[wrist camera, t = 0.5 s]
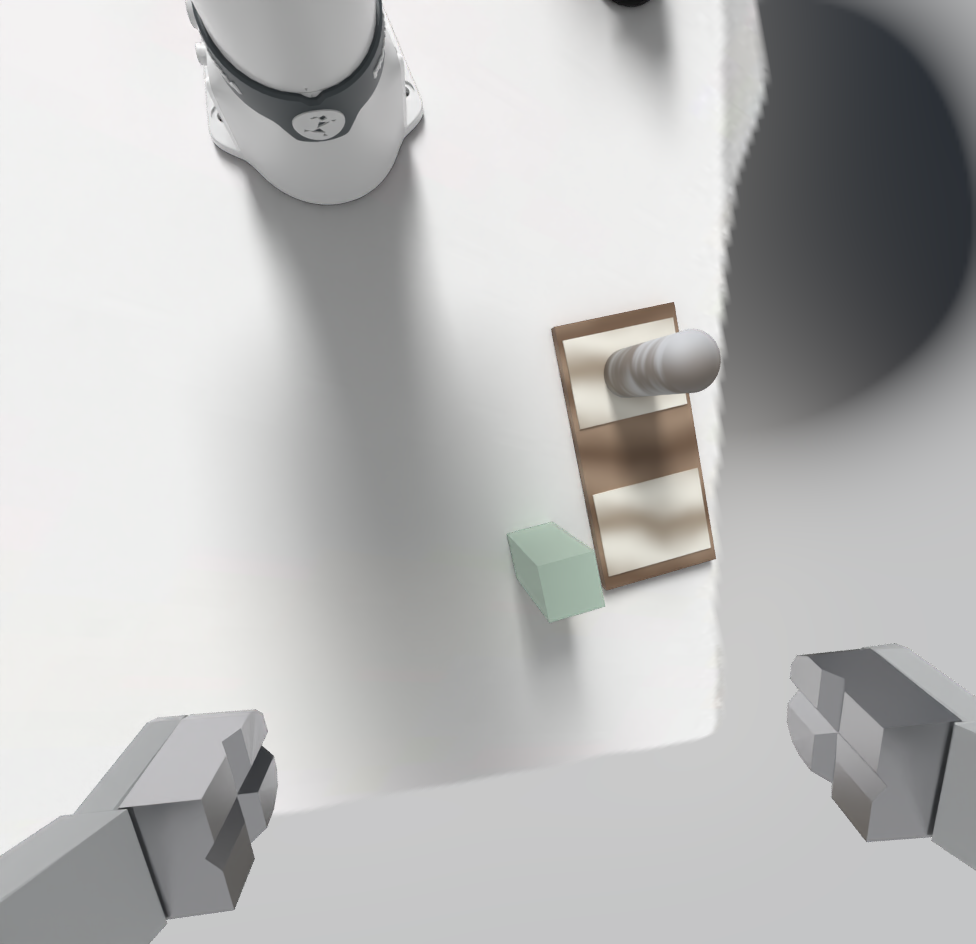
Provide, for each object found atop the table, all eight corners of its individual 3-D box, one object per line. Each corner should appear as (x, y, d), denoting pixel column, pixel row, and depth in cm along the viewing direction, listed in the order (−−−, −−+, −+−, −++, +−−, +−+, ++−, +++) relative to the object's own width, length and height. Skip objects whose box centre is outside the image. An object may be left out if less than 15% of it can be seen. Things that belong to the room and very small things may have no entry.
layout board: (551, 328, 53) (602, 300, 40) (668, 304, 55) (753, 269, 42) (602, 586, 57) (663, 638, 44) (709, 555, 59) (799, 596, 45)
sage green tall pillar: (506, 533, 54) (537, 566, 43) (552, 521, 55) (594, 550, 43) (516, 578, 55) (549, 622, 43) (561, 566, 56) (605, 606, 44)
